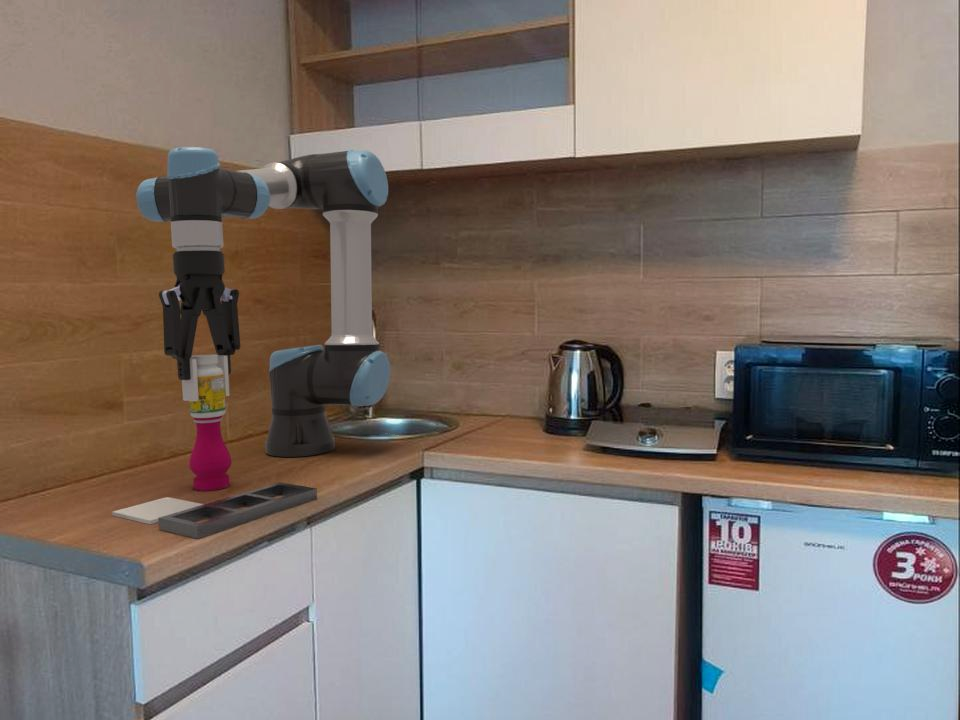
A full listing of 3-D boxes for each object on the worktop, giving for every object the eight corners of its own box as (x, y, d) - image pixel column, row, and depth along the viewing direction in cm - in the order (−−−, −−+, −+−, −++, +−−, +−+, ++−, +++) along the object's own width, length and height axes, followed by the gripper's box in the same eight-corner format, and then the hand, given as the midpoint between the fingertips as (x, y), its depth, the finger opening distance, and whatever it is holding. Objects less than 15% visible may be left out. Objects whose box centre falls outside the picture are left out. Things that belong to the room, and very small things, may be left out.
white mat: (167, 500, 131) (167, 496, 131) (205, 508, 126) (205, 504, 126) (112, 515, 123) (112, 511, 123) (150, 524, 117) (150, 520, 117)
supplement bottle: (233, 413, 123) (229, 354, 122) (207, 419, 118) (204, 357, 117) (208, 412, 125) (205, 353, 124) (182, 417, 120) (178, 356, 120)
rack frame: (279, 492, 135) (279, 482, 135) (317, 498, 130) (316, 488, 130) (158, 529, 115) (158, 517, 114) (197, 538, 110) (197, 526, 110)
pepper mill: (218, 479, 145) (212, 375, 143) (240, 485, 140) (234, 377, 139) (183, 487, 139) (176, 378, 138) (204, 493, 135) (198, 381, 133)
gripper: (228, 253, 129) (235, 389, 131) (130, 249, 113) (140, 404, 115) (259, 251, 125) (266, 391, 127) (163, 247, 109) (173, 407, 112)
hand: (206, 397), depth 121 cm, fingers closed on supplement bottle, 5 cm apart
